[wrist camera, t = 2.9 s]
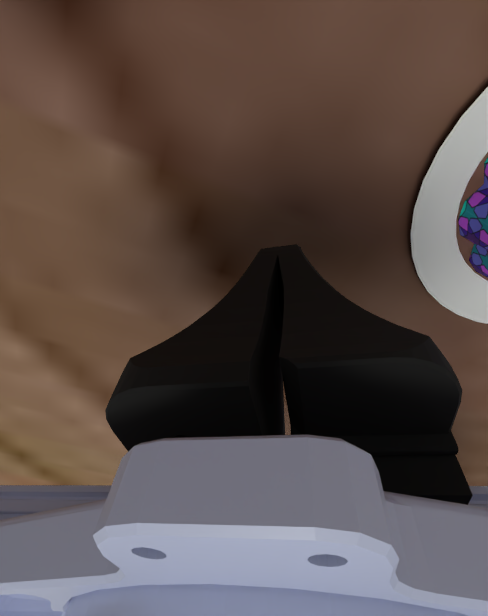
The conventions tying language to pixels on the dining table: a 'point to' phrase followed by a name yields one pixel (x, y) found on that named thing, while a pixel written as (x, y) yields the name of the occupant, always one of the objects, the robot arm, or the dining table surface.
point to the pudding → (442, 219)
